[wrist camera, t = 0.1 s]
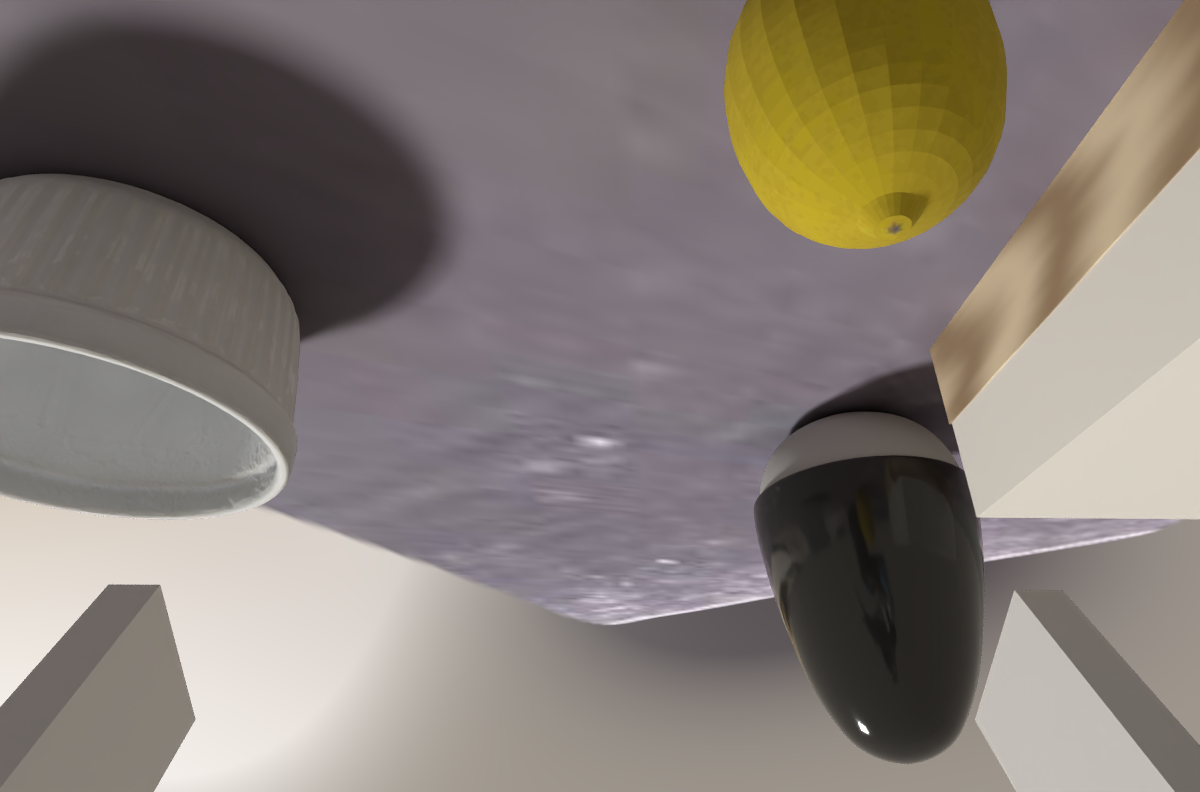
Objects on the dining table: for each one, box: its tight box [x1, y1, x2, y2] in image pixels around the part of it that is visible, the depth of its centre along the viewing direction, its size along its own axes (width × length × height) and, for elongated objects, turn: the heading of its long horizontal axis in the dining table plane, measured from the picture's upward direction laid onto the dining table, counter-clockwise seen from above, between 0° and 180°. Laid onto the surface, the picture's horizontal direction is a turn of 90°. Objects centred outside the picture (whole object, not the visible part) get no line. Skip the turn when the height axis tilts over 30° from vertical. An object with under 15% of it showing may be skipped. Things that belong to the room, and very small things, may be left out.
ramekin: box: [0, 174, 300, 520], centre depth 26 cm, size 13×13×7 cm
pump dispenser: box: [754, 411, 985, 764], centre depth 36 cm, size 10×10×15 cm
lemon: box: [724, 0, 1007, 249], centre depth 16 cm, size 6×6×8 cm
